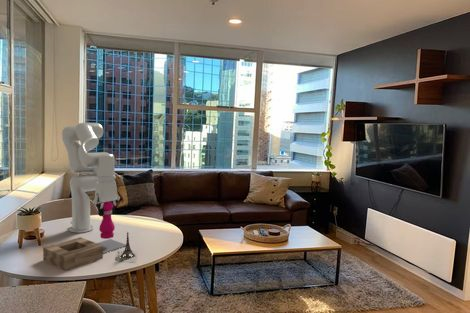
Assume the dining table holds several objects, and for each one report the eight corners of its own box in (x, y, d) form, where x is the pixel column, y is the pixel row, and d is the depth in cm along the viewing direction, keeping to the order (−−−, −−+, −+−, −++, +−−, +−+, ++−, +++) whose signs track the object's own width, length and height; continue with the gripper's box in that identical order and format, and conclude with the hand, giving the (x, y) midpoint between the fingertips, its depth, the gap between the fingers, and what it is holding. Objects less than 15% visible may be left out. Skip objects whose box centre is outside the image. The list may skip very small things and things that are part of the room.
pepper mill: (99, 235, 178) (98, 196, 176) (114, 233, 181) (113, 195, 179) (99, 239, 172) (99, 199, 170) (115, 238, 175) (115, 198, 173)
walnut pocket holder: (43, 260, 158) (43, 247, 158) (80, 248, 173) (80, 237, 172) (65, 270, 148) (64, 257, 147) (102, 258, 163) (102, 245, 162)
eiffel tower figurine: (117, 252, 172) (117, 225, 170) (138, 251, 174) (139, 225, 173) (113, 264, 157) (113, 235, 156) (136, 263, 159) (136, 234, 158)
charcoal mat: (86, 247, 175) (86, 246, 175) (110, 239, 187) (110, 239, 187) (103, 254, 167) (103, 253, 167) (127, 246, 179) (127, 245, 179)
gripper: (116, 176, 183) (116, 210, 185) (86, 180, 169) (86, 216, 170) (125, 177, 178) (125, 212, 180) (95, 182, 164) (95, 219, 166)
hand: (106, 214), depth 175 cm, fingers closed on pepper mill, 5 cm apart
